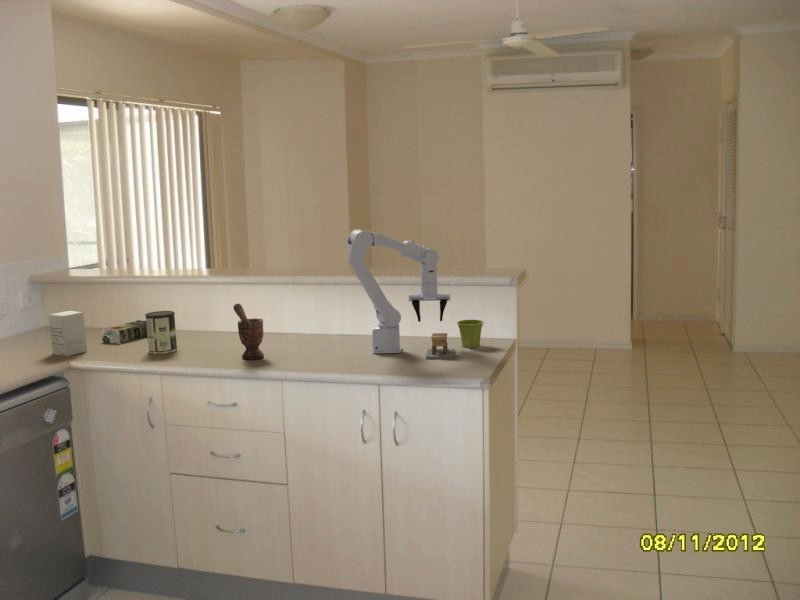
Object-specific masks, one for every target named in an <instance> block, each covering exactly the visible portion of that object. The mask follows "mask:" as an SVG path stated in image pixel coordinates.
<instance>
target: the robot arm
mask: <svg viewBox="0 0 800 600" xmlns="http://www.w3.org/2000/svg"><path fill="white" fill-rule="evenodd" d="M346 244H347V262H348V264H349V267H350V268H351V269H352V271H353V273H354V274H355V276H356V278H357V279H358V281H359V283H360V284H361V286H362V288H363V289H364V291H365V293H366V294H367V296H368V298H369V299H370V301H371V303H372V305H373V309H374V310H375V314H376V315H375V316H376V319H377V320H378V321H379V323H378V326H373V327H372V335H371V336H372V354H400V353H401V352H402V350H403V347H402V346H401V339H400V336H401V335H400V334H401V333H400V322H401V320H402V316H401V315H402V314H401V312H400V311H399V310H397V309H396V308H395V307H394V306H393V305H392V303H391V302H390V301H389V300H388V298H387V297H386V296H385V294H384V292H383V291H382V289H381V287H380V285H379V283H378V282H377V281H376V278H375V277H374V275H373V273H372V272H371V270H370V269H369V266H368V265H367V263H366V261H365V259H366V255H367V252H368V251H369V250H370V249H371V247H375V246H376V247H377V246H379V245H381V246H382V247H386V248H389V249H393V250H395V251H398V252H399V254H400V256H401V257H404V258H406V259H409V260H412V261H414V262H418V263H419V264H420V289H421V290H420V294H409V295H408V302H411V305H412V308H413V309H414V311H415V313H416V318H417V321H418V323H421V321H422V320H421V319H422V318H421V317H422V316H421V303H420V302H425V301H427V302H430V301H439V311H440V312H439V322H443V316H444V311H445V309H446V306H447V303H448V302H449V301H451V294H448V293H445V294H442V293H438V292H439V291H438V268H437V265H438V262H439V260H440V256H439V254H438V252H437V251H436V250H435V249H433V248H429V247H427V245H425V244H422V245H421V244H418V243H415V240H412V239H409V240H408V239H407V240H405V241H399V240H396V239H394V238H392V237H388V236H386V235H385V234H384V235H383V234H381V233H378V232H372V231H368V230H362V229H359V228H357V229H353V230H352V231H350V233H349V234H348V237H347V240H346Z"/></svg>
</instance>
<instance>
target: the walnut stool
mask: <svg viewBox="0 0 800 600" xmlns="http://www.w3.org/2000/svg"><path fill="white" fill-rule="evenodd" d="M447 338H448V333H447V332H441V333H440V332H439V333H437V332H436V333H435V332H434V333H433V332H432V333H431V338H430V339H431V342H432V343H431V349H432V355H435V354H436V349H437V347H442V349H443V354H447V351H448V349H449V348H448V339H447Z"/></svg>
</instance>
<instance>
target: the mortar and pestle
mask: <svg viewBox="0 0 800 600" xmlns="http://www.w3.org/2000/svg"><path fill="white" fill-rule="evenodd" d="M233 310H234V313H235V314H236V315H237V316H238V318H239V319H240V320H238V321H237V330H238V337H239V339H240V342H241V343H240V344H242V345H243V346H244V347H245V350H244V351H243V353H242V354H241V359H244V360H248V361H252V360H253V361H254V360H259V359H263V358H264V356H265V355H264V352H263V351H262V350H260V345H261V344H262V343H263V338H264V319H263V318H257V317H256V318H248V317H247V315H246V312H245V310H244V307H243V306H242V304H240V303H235V304H234V305H233Z"/></svg>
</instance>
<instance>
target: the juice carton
mask: <svg viewBox="0 0 800 600" xmlns="http://www.w3.org/2000/svg"><path fill="white" fill-rule="evenodd" d="M144 338H148V336H147V325H146V320H141V319H138V320H135V321H131V322H126V323H123V324H119V325H114V326H110V327H106V328H102V343H110V344H118V345H120V344H124V343H128V342H131V341H132V342H133V341H135V340H140V339H144Z"/></svg>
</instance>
